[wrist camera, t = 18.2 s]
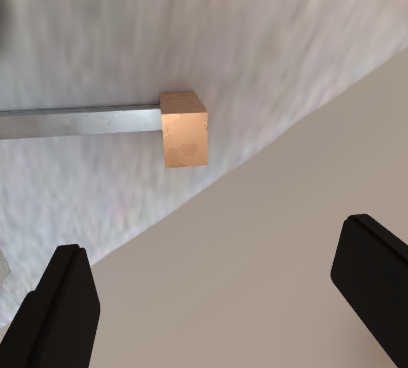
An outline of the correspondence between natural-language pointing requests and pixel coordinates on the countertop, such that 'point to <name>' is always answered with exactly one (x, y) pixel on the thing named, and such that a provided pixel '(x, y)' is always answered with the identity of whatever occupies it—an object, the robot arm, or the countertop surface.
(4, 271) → the l-shaped tool
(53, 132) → the crook tool
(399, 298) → the robot arm
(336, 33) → the countertop surface
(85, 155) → the countertop surface
